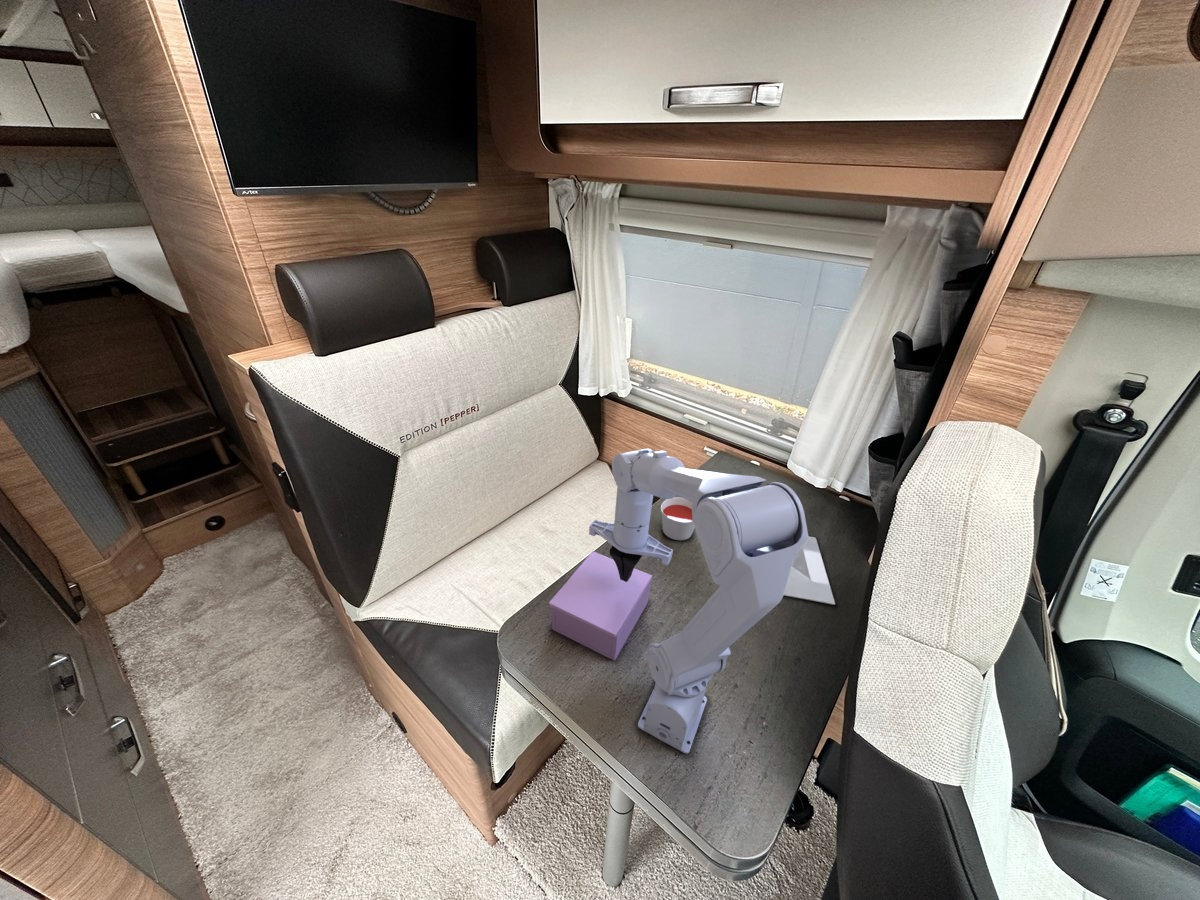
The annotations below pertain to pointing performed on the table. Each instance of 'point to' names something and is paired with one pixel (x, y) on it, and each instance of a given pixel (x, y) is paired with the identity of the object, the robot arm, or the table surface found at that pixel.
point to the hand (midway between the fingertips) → (625, 577)
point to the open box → (595, 637)
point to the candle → (677, 518)
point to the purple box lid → (600, 594)
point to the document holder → (809, 575)
